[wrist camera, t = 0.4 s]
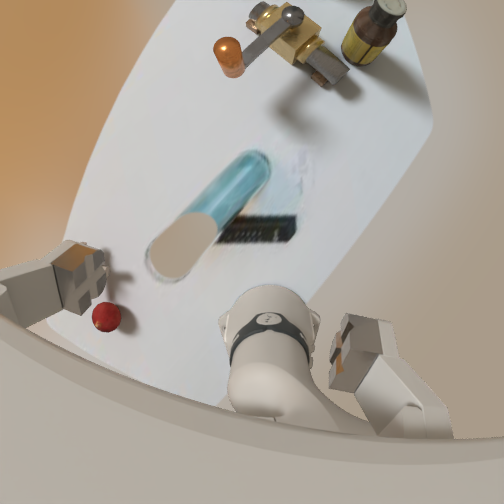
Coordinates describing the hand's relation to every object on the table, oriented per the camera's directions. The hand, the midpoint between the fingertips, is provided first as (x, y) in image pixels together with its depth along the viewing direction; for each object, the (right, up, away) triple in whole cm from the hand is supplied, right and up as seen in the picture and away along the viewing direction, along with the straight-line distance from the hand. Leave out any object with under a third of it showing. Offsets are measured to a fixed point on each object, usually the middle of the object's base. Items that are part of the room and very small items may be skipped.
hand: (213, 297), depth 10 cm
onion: (-27, -10, +50) cm, 58 cm away
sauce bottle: (+19, +36, +36) cm, 54 cm away
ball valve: (+9, +36, +36) cm, 52 cm away
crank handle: (+3, +30, +28) cm, 41 cm away
